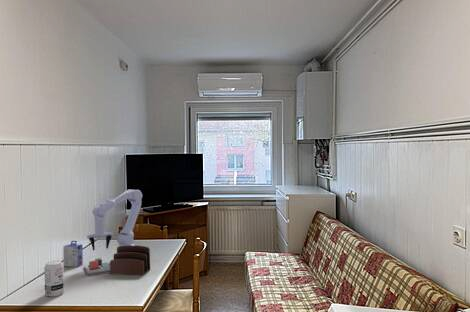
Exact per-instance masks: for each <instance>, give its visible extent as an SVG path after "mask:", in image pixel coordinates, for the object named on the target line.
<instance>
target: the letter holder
mask: <svg viewBox="0 0 470 312" xmlns="http://www.w3.org/2000/svg"><path fill="white" fill-rule="evenodd" d="M150 255H151V250H150V248H149V246H143V245H135V244H134V245H130V246H119V245H118V246H117V247H116V253H114V254H113V259H111V260H110V261H109V265H110V272H109V273H110V275H125V276H126V275H128V276H129V275H130V276H133V275H134V276H144V275H146V274H147V273H149V272H150V271H151V256H150Z"/></svg>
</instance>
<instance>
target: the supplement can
mask: <svg viewBox="0 0 470 312" xmlns="http://www.w3.org/2000/svg"><path fill="white" fill-rule="evenodd" d="M64 267H65V266H64V265H63V262H62V261H61V260H55V261H54V260H53V261H49V262H46V263H45V265H44V267H43V268H44V295H45V296H46V297H47V296H56V297H59V296H61V294H62V295H63V293H65V275H64V272H65V270H64Z"/></svg>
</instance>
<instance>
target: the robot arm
mask: <svg viewBox="0 0 470 312" xmlns="http://www.w3.org/2000/svg"><path fill="white" fill-rule="evenodd" d="M142 199H143V193H142V191H141V190H140V189H130V188H129V189H127V190H125V191H124V192H122V193H121V194H119V195H118V196H117V197H115V198H113V199H106V200H105V202H103V203H100V204H99V205H96V206H94V208H93V210H92V214H93V216H94V233H91V234H87V235H86V239H88V240H89V242H90V244H91V247H92V251H95V248H96V247H95V238H102V237H103V238H104V237H105V243H106V244H105V248H106V250H108V249H109V246H110V245H109V244H110V242H111V240H112V237H113V236H114V232H113V231H109V232H108V231H106V215H107V213H108V212H110V211H111V210H113V209H115V208H116V207H117V206H116V205H118V204H119V203H121V202H123V201H125V200H128V201H129V202H130V204H131V208H130V210H129V214H128V217H127V219H126V221H125V225H124V227H123V228H122V230H120V232H119V234H118V235H117V236H116V242H117V243H118V247H119V246H130V245H135V244H134V243H133V242H134V236H135V233H134V232H133V231H134V228H135V225H136V221H137V219H138V216H139V213H140V210H141V208H142Z"/></svg>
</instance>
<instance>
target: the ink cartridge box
mask: <svg viewBox="0 0 470 312" xmlns="http://www.w3.org/2000/svg"><path fill="white" fill-rule="evenodd" d="M62 248H63V249H62V251H63V262H62V263H63V265H64V267H76V268H77V267H80V266H83V263H84V262H83V261H84V260H83V259H84V258H83V255H84V254H83V244H78V241H77V240H71V241H70V243H68V244H65V245H63V247H62Z"/></svg>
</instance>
